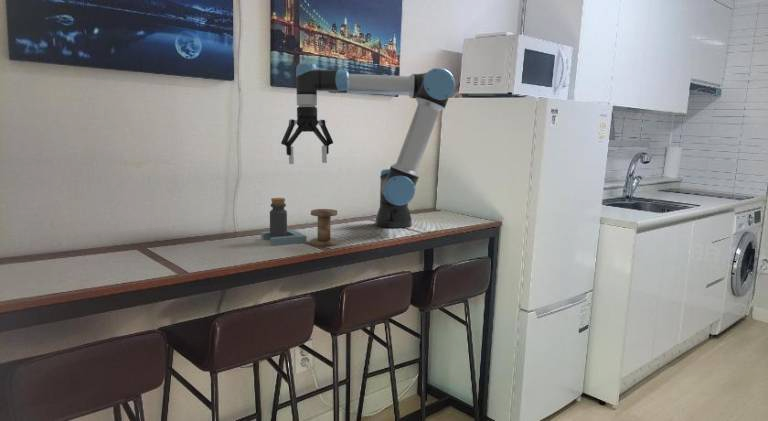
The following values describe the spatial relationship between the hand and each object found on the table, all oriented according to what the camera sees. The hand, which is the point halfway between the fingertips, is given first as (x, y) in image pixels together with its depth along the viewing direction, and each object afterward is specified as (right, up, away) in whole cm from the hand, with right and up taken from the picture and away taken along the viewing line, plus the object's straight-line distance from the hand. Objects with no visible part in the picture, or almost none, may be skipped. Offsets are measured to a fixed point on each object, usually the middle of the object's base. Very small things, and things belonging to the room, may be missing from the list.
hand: (308, 163), depth 206 cm
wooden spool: (+8, -29, -19) cm, 36 cm away
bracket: (-6, -29, -16) cm, 33 cm away
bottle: (-8, -29, -17) cm, 34 cm away
